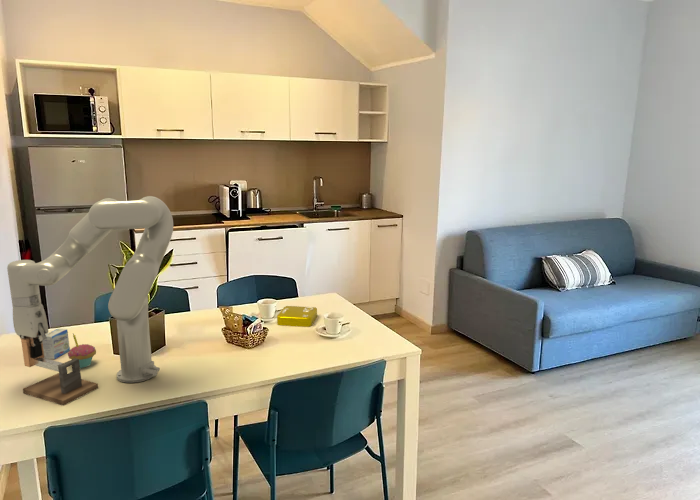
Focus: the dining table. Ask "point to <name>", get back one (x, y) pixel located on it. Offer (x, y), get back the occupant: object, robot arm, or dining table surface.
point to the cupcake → (82, 353)
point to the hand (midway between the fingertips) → (33, 355)
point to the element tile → (297, 316)
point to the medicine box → (56, 344)
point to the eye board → (55, 390)
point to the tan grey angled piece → (39, 360)
